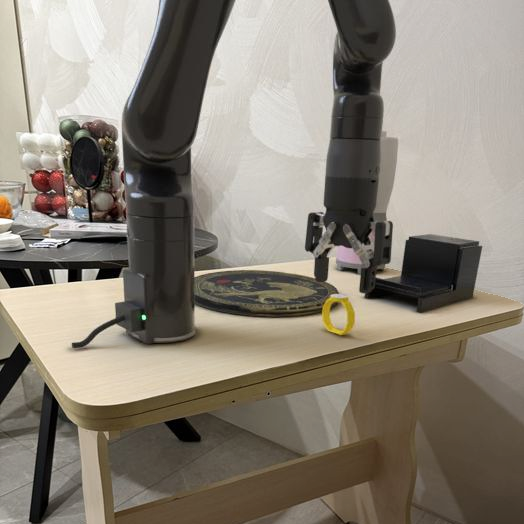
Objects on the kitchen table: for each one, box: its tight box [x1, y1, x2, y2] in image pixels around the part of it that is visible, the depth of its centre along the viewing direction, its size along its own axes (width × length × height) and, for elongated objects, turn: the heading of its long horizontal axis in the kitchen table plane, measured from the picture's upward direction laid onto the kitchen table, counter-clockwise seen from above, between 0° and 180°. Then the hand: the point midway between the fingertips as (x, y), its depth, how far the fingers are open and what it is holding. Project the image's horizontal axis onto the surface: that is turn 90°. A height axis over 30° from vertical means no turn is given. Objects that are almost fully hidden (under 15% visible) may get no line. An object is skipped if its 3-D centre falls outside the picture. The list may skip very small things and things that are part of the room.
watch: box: [321, 293, 356, 336], centre depth 80 cm, size 6×3×6 cm, turn 35°
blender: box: [335, 130, 399, 275], centre depth 126 cm, size 16×12×32 cm
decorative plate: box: [194, 269, 340, 318], centre depth 101 cm, size 30×2×30 cm
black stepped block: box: [364, 233, 483, 314], centre depth 103 cm, size 20×13×11 cm, turn 132°
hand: (342, 286), depth 79 cm, fingers open, 8 cm apart
